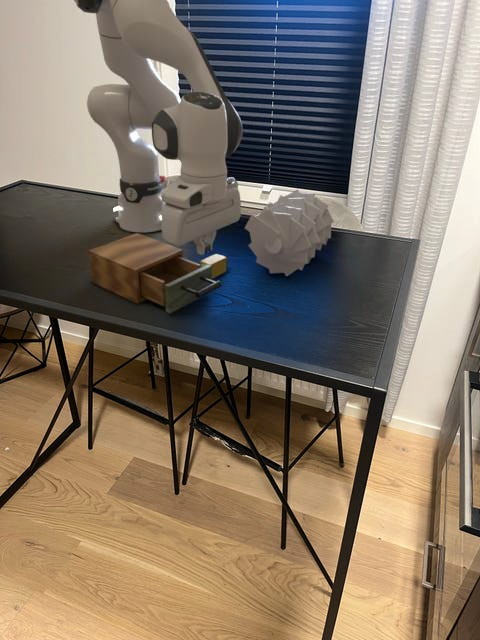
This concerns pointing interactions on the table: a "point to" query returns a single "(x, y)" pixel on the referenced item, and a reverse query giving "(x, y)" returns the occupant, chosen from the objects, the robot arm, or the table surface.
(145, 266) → the cabinet
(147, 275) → the drawer
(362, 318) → the table surface
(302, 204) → the spiral staircase
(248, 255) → the table surface
